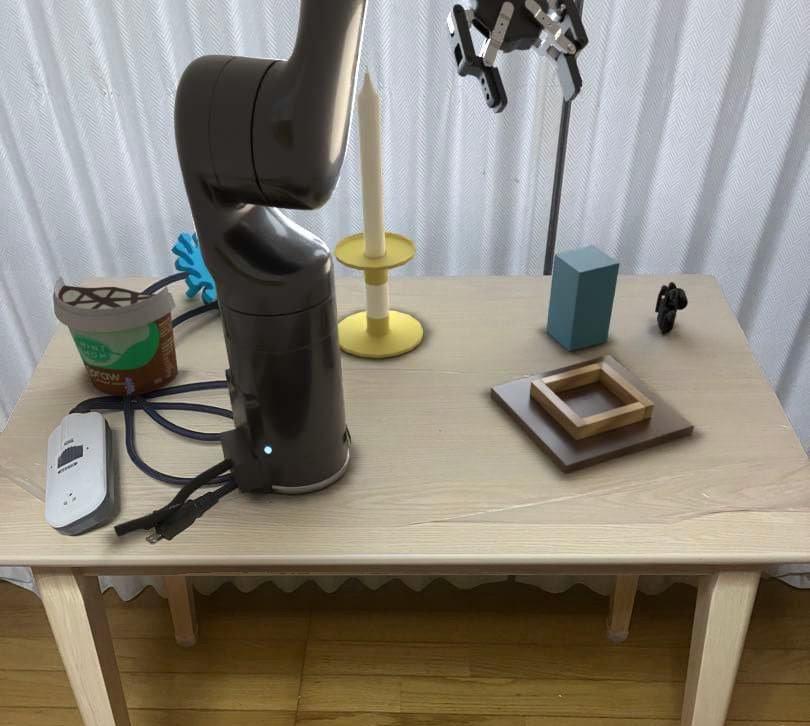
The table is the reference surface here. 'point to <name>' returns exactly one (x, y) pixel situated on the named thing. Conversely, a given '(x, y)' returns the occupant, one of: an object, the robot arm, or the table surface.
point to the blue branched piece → (193, 267)
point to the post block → (582, 297)
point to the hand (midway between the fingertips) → (538, 102)
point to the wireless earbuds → (669, 306)
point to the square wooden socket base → (590, 413)
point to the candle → (375, 251)
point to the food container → (120, 335)
